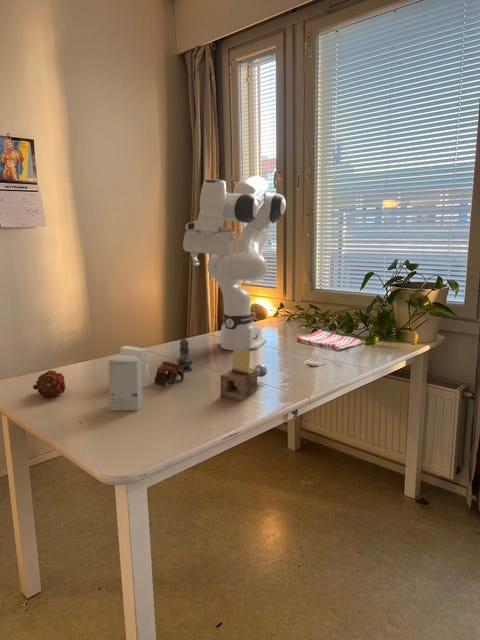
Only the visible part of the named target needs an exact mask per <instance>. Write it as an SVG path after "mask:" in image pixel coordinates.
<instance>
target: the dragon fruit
mask: <svg viewBox="0 0 480 640" xmlns="http://www.w3.org/2000/svg"><path fill="white" fill-rule="evenodd" d="M37 379H38V380H36V381H35V383H36V384H33V385H32V389H34V390H35V391H37V393H38V394H39V395H40V396H42V397H44V398H45V397H48V398H51V399H52V398H53V399H55V398H57V396H59V395H60V394H63V393H64V392H65V389H66V388H67V387H66V382H65V376H64V375H63V374H62V373H60V372H58V373H57V371H55V370H47V371H46V372H45V373H41V374H40V376H38V378H37Z"/></svg>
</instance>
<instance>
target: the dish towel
mask: <svg viewBox="0 0 480 640" xmlns="http://www.w3.org/2000/svg"><path fill="white" fill-rule="evenodd" d="M295 338H296V341H297V343H302V344H306V345H310V346H315V347H320V348H322V349H326V348H327V350H331V351H337V352H338V351H342V350H346V349H350V348H354V347H357V346H359V344H360V345H361V343H362V344H363V341H362V340H360V339H358V338H355V337H352V336H347V335H346V336H344V335H343V336H342V335H338V334H333V333H331V332H328V331H326V330H322V329H321V328H320V329H318V330H317V331H314V332H313V333H310V334H307V335H297V336H296V337H295Z"/></svg>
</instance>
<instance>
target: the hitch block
mask: <svg viewBox="0 0 480 640" xmlns="http://www.w3.org/2000/svg"><path fill="white" fill-rule="evenodd" d="M233 381H234V382H237V389H235V388H233V386H232V382H233ZM256 391H257V392H258V377H257V370H256V369H255V368H251V367H250V369H249V374H246V373H241V372H235V371H232V368H231V369H230V370H228V371H225V372H224V373H221V374H220V397H221V398H224V399H227V400H233V401H236V402H242V401H244V400H246V399H247V398H249V397H250V396H252V395H253V394H255V393H257V392H256ZM254 392H255V393H254ZM251 394H252V395H251Z"/></svg>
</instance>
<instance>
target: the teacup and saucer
mask: <svg viewBox="0 0 480 640" xmlns="http://www.w3.org/2000/svg"><path fill="white" fill-rule="evenodd" d="M320 356H321V353H320V352H316V351H315V352H314V351H313V352H312V353H311V360H312V361H309V360H310V359H307V360H305V362H304V363H305V364H306V361H309V362H308V363H309V365H308V366H311V365H312V367H318V366H317V365H320V363H319V362H320V361H319V360H321V357H320Z"/></svg>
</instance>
